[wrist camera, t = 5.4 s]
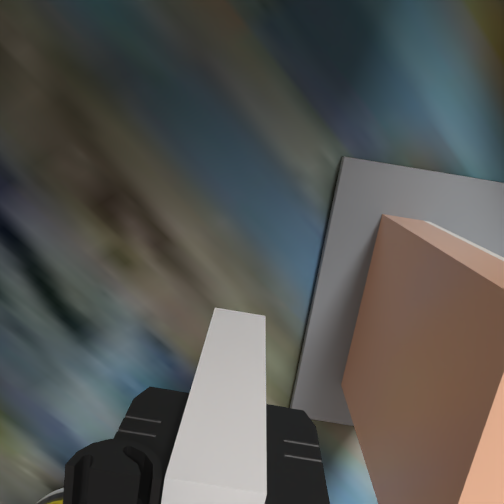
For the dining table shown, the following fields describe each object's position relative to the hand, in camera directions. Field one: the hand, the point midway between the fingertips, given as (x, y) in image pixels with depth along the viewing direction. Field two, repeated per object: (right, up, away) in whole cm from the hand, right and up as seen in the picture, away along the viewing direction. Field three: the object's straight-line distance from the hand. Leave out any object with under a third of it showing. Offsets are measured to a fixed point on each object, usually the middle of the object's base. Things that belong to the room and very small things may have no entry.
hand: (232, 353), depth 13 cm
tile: (+6, +1, +6) cm, 9 cm away
